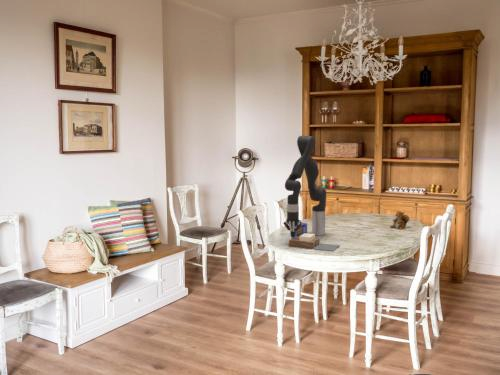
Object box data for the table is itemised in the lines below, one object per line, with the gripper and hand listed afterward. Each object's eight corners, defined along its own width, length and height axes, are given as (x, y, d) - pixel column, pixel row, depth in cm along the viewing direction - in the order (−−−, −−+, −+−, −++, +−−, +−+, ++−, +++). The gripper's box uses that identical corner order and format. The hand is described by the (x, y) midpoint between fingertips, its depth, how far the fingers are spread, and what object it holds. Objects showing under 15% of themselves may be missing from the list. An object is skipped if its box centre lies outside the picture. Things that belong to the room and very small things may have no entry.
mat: (320, 244, 323) (320, 243, 323) (339, 246, 317) (339, 245, 317) (312, 249, 309) (312, 248, 309) (333, 251, 304) (333, 250, 304)
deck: (296, 242, 329) (296, 236, 329) (319, 244, 322) (319, 238, 322) (288, 246, 317) (288, 240, 317) (312, 249, 310) (312, 242, 309)
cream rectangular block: (304, 237, 324) (304, 233, 324) (314, 238, 321) (314, 234, 321) (299, 240, 315) (299, 236, 315) (309, 241, 312) (309, 237, 312)
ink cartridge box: (290, 240, 335) (290, 219, 333) (295, 238, 339) (295, 218, 337) (303, 242, 329) (303, 220, 327) (307, 240, 333) (307, 219, 331)
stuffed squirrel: (388, 228, 373) (389, 210, 371) (400, 225, 381) (401, 208, 379) (399, 230, 365) (400, 212, 363) (411, 227, 373) (412, 210, 371)
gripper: (304, 210, 321) (304, 236, 323) (285, 209, 327) (285, 234, 329) (300, 212, 314) (300, 238, 316) (281, 210, 320) (281, 237, 322)
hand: (292, 236), depth 323 cm, fingers closed
